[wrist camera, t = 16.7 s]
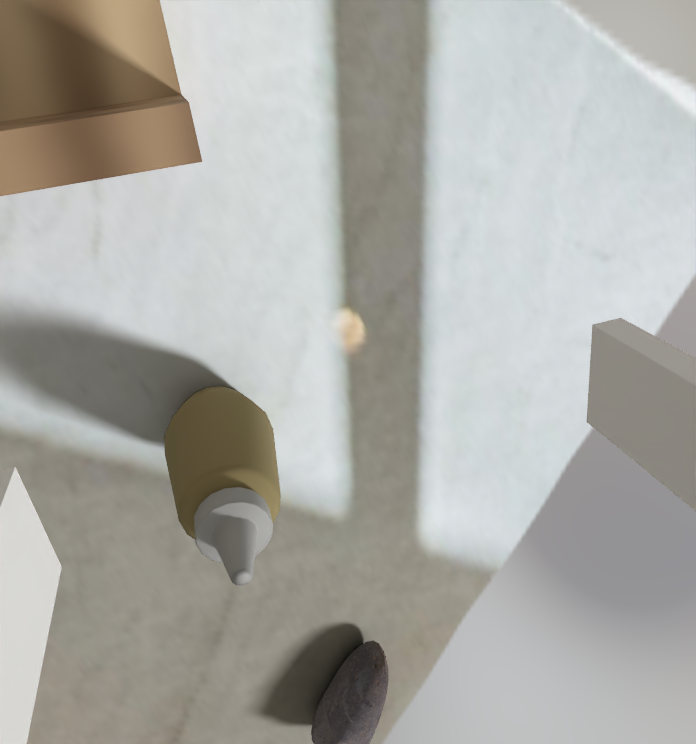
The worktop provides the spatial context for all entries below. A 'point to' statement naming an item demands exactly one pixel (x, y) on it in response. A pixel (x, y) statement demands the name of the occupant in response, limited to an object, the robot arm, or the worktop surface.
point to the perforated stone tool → (353, 699)
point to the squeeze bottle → (224, 477)
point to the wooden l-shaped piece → (88, 93)
